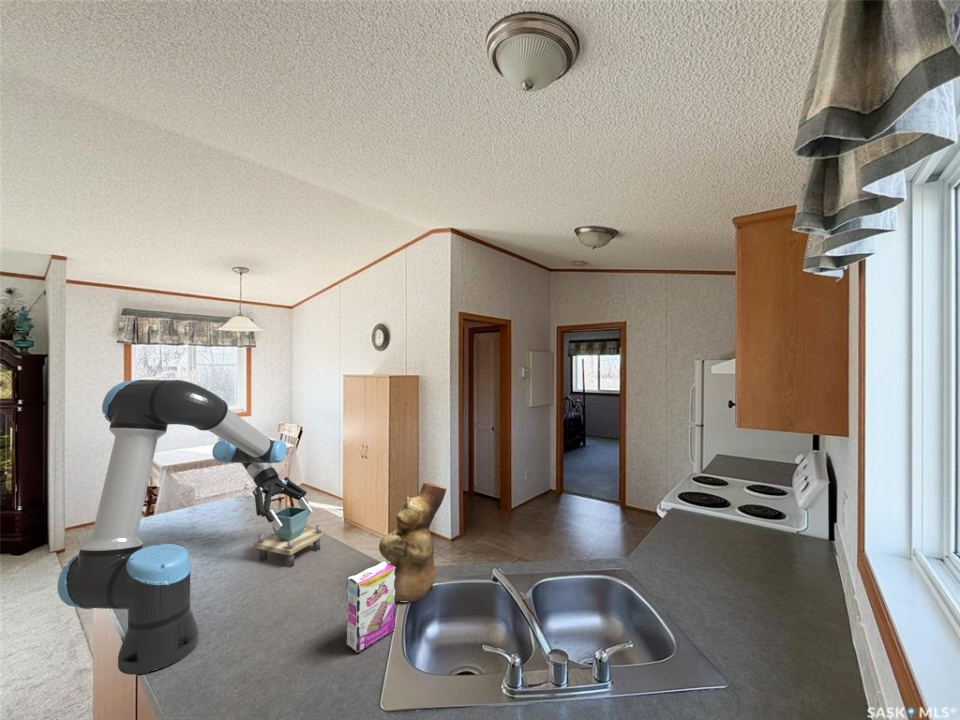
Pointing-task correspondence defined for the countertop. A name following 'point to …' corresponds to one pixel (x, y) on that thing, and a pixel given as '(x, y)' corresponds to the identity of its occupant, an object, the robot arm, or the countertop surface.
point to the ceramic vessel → (413, 544)
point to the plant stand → (289, 544)
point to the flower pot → (291, 522)
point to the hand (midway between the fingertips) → (295, 520)
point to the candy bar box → (370, 605)
